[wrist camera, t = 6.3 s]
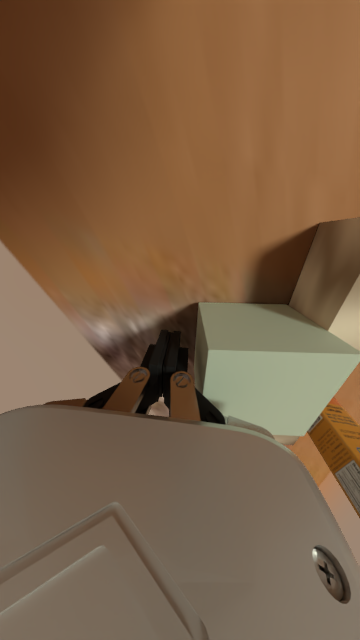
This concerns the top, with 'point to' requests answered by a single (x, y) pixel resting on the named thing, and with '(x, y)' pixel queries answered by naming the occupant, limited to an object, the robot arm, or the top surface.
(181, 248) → the top surface
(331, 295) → the birch board
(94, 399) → the robot arm
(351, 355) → the green block
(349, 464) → the supplement box
